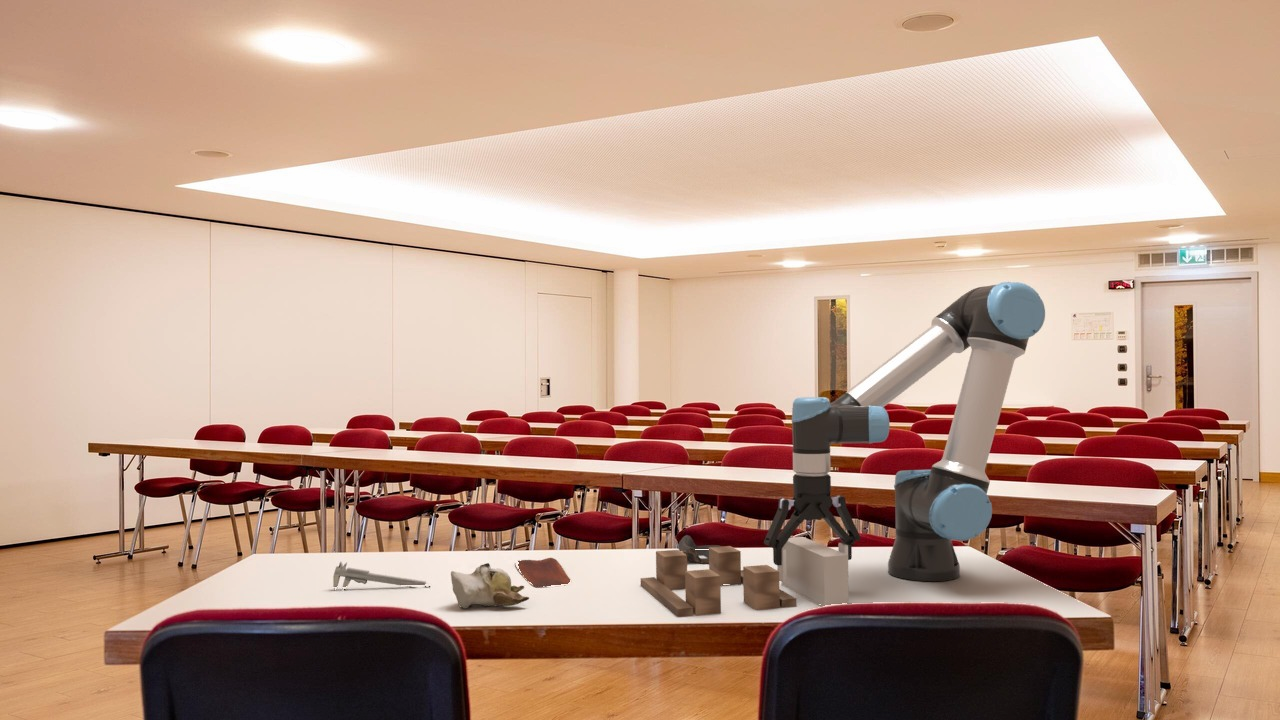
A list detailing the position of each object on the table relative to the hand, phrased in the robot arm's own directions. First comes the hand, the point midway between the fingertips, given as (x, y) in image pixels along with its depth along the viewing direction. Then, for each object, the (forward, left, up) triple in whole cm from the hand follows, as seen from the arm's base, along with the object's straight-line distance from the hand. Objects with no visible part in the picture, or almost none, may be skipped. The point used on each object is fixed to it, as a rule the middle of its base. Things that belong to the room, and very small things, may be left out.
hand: (813, 578), depth 187 cm
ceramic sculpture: (+64, -13, -4) cm, 65 cm away
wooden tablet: (+49, -37, -4) cm, 62 cm away
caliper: (+84, -34, -4) cm, 91 cm away
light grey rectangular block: (0, 0, -3) cm, 3 cm away
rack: (+19, -6, -3) cm, 20 cm away
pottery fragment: (+9, -41, -4) cm, 42 cm away
